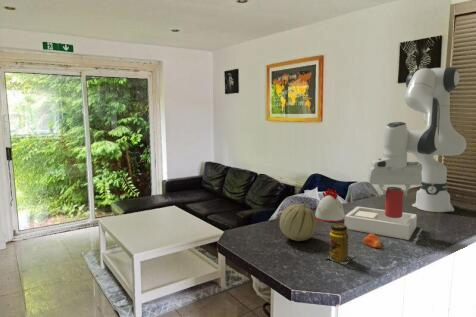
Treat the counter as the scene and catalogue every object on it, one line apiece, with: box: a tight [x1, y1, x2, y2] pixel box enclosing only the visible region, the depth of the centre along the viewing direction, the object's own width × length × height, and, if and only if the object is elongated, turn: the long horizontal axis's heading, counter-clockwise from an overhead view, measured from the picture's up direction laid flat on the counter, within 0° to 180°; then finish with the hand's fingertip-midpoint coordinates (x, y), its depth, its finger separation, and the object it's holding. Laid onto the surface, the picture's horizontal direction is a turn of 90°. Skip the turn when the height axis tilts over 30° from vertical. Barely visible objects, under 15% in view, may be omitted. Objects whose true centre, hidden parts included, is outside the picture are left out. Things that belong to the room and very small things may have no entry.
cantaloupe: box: [279, 202, 318, 242], centre depth 132 cm, size 15×15×15 cm
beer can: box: [384, 186, 404, 218], centre depth 137 cm, size 7×7×12 cm
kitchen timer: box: [314, 188, 346, 223], centre depth 157 cm, size 14×14×15 cm
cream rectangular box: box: [354, 211, 378, 220], centre depth 144 cm, size 8×8×5 cm
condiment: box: [329, 223, 355, 266], centre depth 114 cm, size 7×8×12 cm
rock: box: [363, 233, 383, 249], centre depth 125 cm, size 12×12×4 cm
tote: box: [343, 206, 418, 241], centre depth 141 cm, size 18×25×6 cm
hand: (394, 194), depth 136 cm, fingers closed on beer can, 7 cm apart
